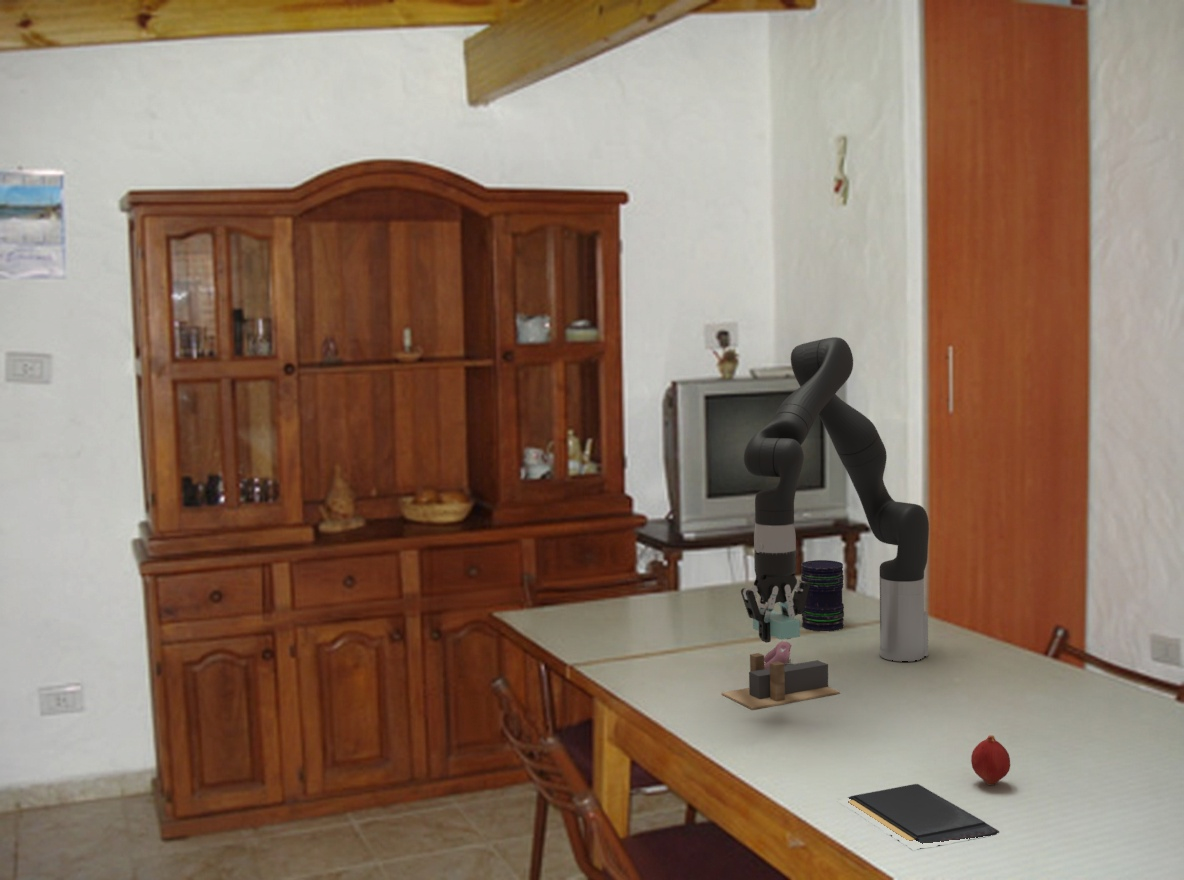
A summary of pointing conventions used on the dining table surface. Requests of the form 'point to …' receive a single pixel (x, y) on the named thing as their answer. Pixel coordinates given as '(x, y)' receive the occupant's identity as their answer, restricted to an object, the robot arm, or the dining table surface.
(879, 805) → the black book
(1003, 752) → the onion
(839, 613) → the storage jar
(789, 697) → the board
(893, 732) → the dining table surface
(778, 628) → the block
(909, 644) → the robot arm
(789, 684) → the bar
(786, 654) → the video game controller
